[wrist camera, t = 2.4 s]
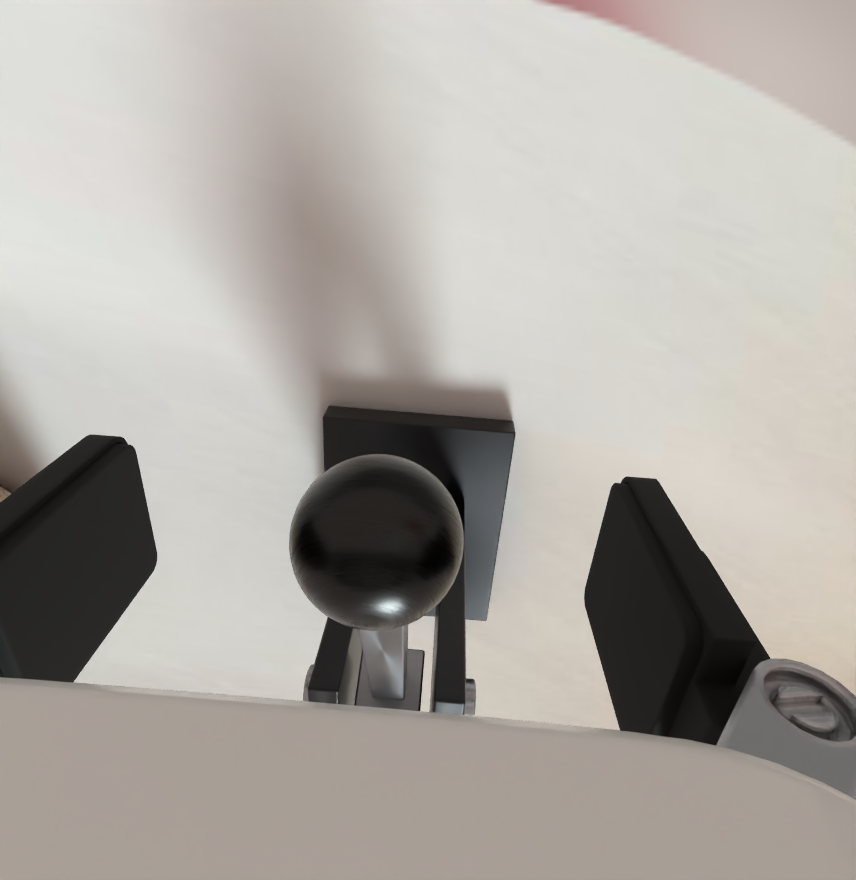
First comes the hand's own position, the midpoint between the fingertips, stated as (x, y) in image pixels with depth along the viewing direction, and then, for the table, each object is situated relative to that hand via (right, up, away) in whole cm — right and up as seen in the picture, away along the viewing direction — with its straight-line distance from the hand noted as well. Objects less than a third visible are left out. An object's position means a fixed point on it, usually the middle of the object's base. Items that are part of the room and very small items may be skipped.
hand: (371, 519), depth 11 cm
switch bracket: (0, -2, +19) cm, 19 cm away
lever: (0, -3, +5) cm, 6 cm away
